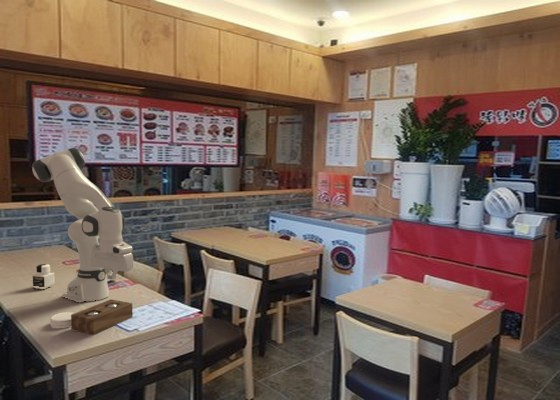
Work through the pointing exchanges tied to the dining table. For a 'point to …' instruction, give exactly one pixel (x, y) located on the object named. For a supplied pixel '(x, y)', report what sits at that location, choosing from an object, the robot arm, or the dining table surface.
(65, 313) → the coaster
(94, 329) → the walnut block
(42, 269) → the medicine bottle
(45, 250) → the dining table surface
